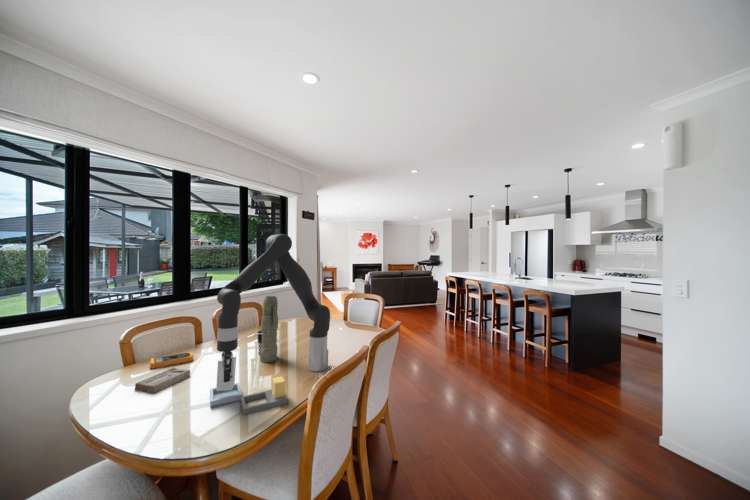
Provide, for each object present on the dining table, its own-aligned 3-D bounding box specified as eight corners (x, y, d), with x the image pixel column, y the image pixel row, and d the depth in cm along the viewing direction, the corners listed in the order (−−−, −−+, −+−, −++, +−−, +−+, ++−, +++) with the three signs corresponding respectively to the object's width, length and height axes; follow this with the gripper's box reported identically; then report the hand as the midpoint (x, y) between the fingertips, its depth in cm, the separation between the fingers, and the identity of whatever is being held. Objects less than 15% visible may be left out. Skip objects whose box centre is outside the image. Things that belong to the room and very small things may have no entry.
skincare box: (215, 391, 112) (216, 361, 111) (219, 386, 116) (220, 357, 116) (232, 390, 113) (233, 360, 113) (235, 384, 117) (236, 356, 117)
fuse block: (281, 392, 120) (282, 373, 120) (287, 403, 112) (287, 383, 112) (240, 401, 112) (241, 381, 112) (243, 414, 103) (244, 393, 103)
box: (134, 390, 118) (134, 383, 118) (173, 373, 135) (173, 367, 135) (153, 394, 116) (153, 387, 116) (190, 376, 132) (190, 369, 132)
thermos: (267, 364, 147) (269, 298, 147) (255, 358, 154) (257, 296, 154) (282, 359, 155) (284, 296, 155) (269, 354, 162) (271, 294, 162)
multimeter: (193, 361, 149) (193, 355, 149) (150, 370, 138) (150, 363, 137) (191, 356, 156) (191, 350, 155) (150, 364, 144) (150, 357, 144)
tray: (239, 388, 122) (239, 382, 122) (241, 400, 113) (242, 394, 113) (209, 394, 116) (210, 388, 116) (210, 408, 107) (210, 401, 107)
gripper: (239, 341, 110) (238, 384, 110) (236, 331, 122) (234, 370, 122) (217, 344, 106) (216, 388, 106) (216, 333, 119) (215, 373, 119)
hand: (226, 378), depth 114 cm, fingers closed on skincare box, 5 cm apart
